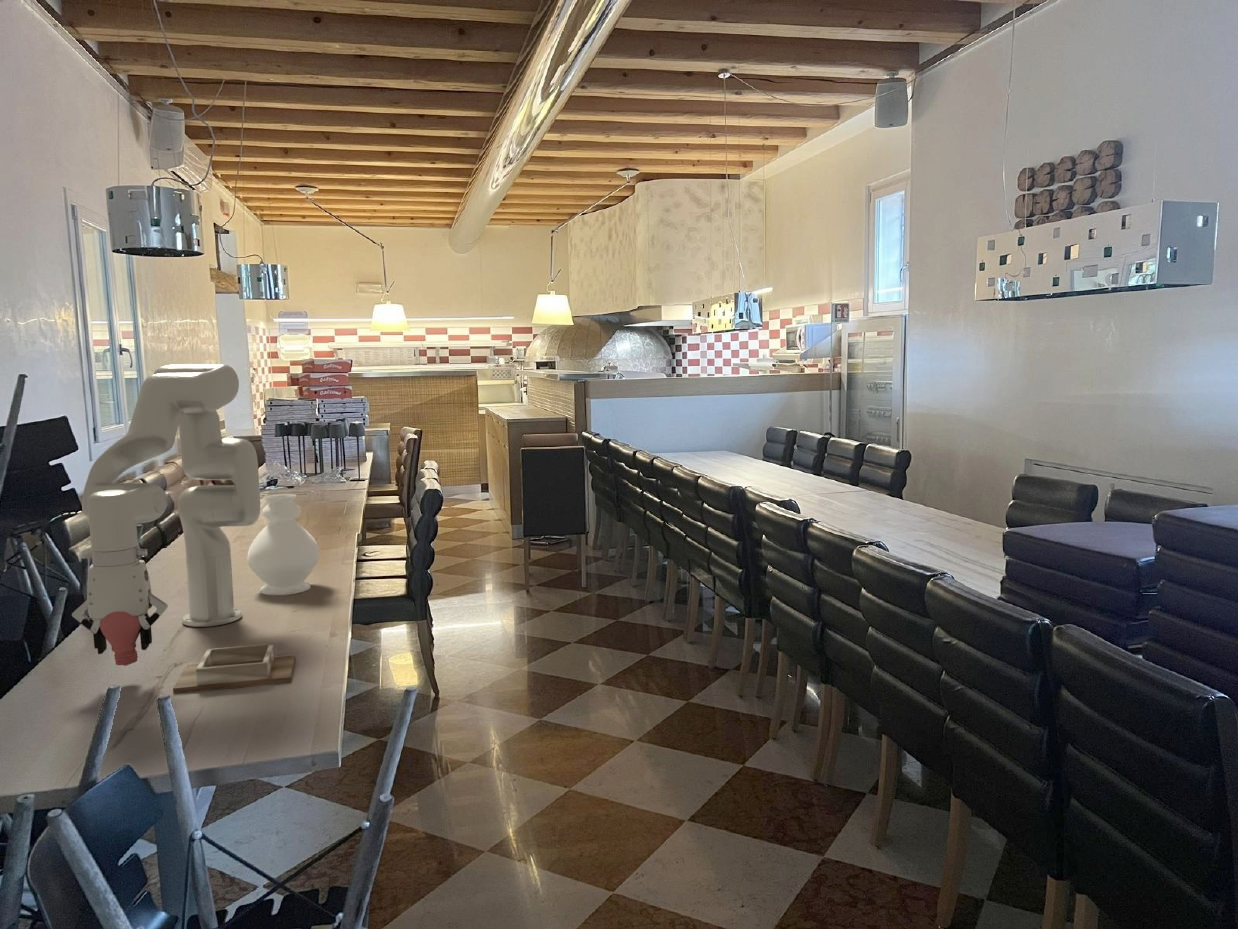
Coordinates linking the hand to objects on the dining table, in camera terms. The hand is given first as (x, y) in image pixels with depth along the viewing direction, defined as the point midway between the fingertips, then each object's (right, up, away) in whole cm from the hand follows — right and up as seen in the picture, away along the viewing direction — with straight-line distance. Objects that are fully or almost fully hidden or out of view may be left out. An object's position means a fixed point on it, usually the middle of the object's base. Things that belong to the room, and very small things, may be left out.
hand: (124, 649), depth 166 cm
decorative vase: (+5, +1, +68) cm, 69 cm away
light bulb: (0, -3, 0) cm, 3 cm away
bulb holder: (+20, -6, +3) cm, 21 cm away
